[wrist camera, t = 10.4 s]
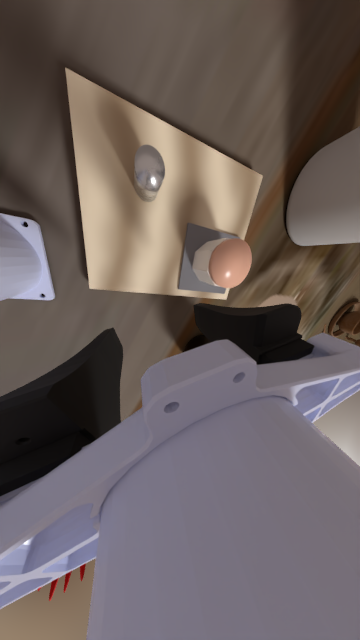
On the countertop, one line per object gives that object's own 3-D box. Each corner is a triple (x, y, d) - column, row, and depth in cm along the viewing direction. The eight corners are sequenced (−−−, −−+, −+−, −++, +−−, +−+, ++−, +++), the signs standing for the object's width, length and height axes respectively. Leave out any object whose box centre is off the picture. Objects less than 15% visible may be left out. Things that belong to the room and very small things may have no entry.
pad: (177, 288, 19) (178, 289, 19) (187, 223, 16) (188, 222, 16) (223, 293, 22) (224, 293, 22) (238, 238, 19) (240, 237, 18)
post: (133, 197, 14) (134, 180, 11) (134, 166, 13) (134, 138, 10) (157, 205, 14) (163, 191, 11) (158, 176, 13) (166, 152, 10)
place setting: (366, 290, 41) (400, 294, 36) (346, 337, 51) (370, 345, 46) (323, 315, 39) (352, 323, 34) (311, 358, 49) (332, 370, 44)
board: (92, 286, 17) (89, 288, 16) (73, 89, 11) (65, 67, 10) (221, 297, 24) (226, 299, 23) (253, 181, 18) (262, 175, 16)
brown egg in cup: (190, 279, 19) (207, 285, 14) (197, 239, 17) (219, 232, 12) (219, 283, 20) (242, 290, 16) (228, 247, 18) (258, 244, 14)
